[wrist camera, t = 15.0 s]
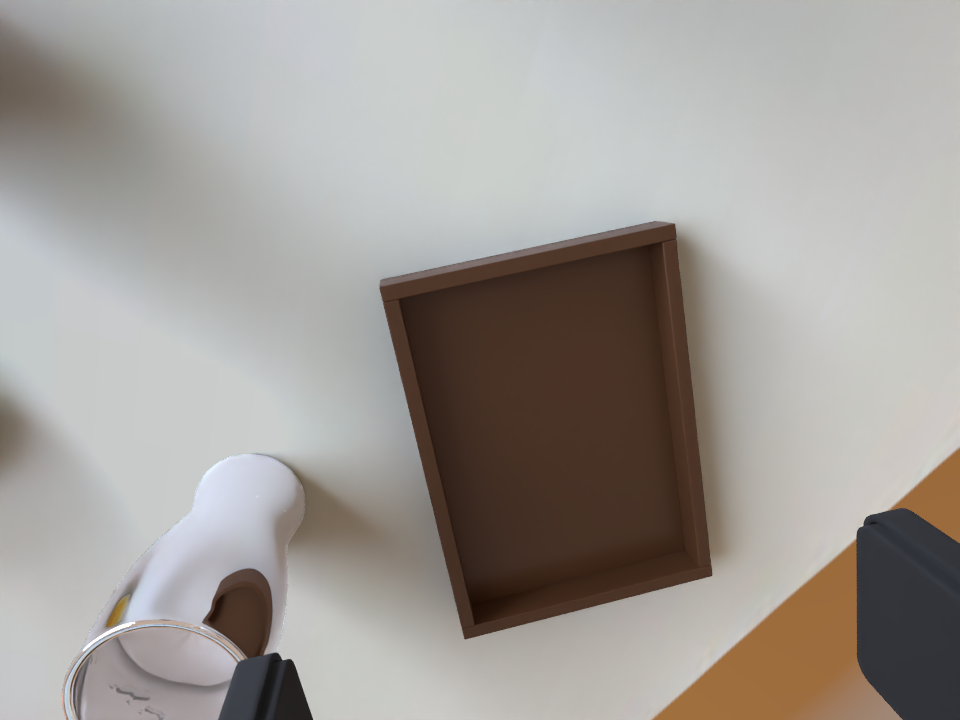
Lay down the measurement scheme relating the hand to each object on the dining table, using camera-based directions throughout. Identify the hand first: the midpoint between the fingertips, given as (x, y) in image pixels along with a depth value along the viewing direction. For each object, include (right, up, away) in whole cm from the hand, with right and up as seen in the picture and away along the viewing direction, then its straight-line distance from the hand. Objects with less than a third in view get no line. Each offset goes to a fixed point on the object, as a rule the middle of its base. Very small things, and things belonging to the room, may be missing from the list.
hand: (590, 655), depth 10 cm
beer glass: (-15, -3, +27) cm, 31 cm away
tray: (+2, +1, +28) cm, 28 cm away
